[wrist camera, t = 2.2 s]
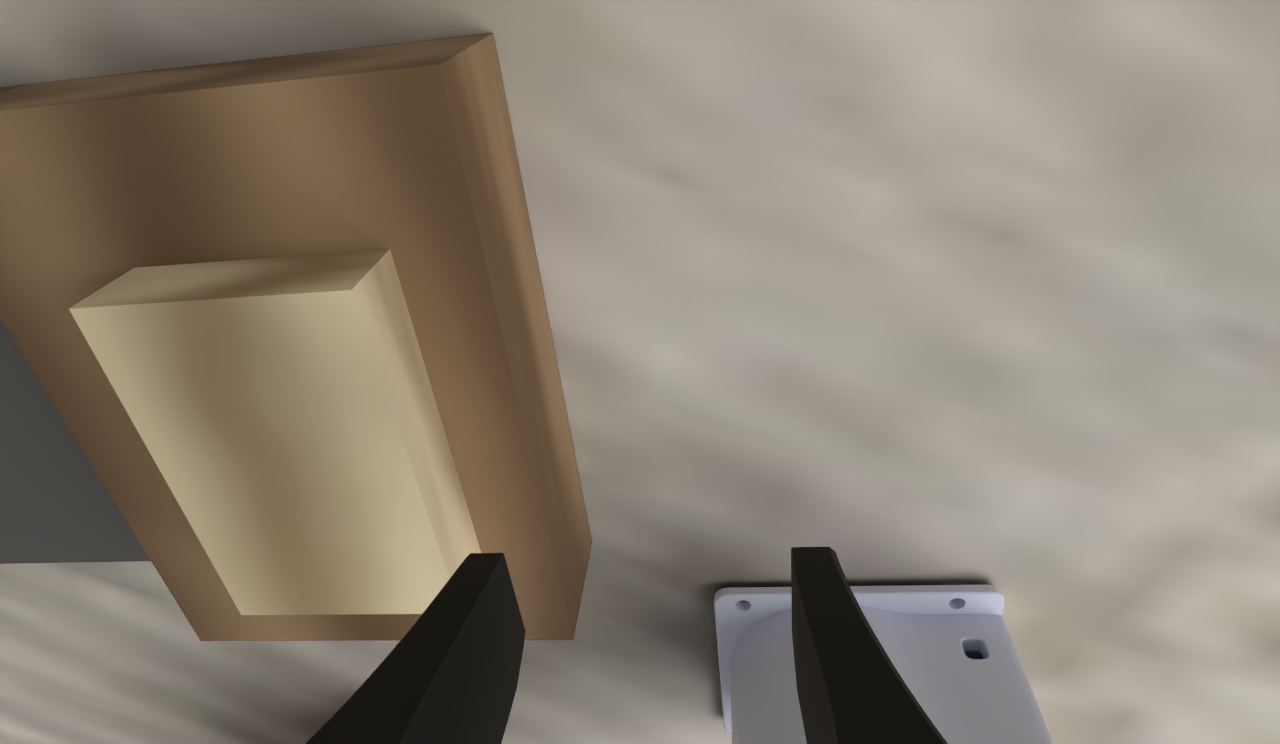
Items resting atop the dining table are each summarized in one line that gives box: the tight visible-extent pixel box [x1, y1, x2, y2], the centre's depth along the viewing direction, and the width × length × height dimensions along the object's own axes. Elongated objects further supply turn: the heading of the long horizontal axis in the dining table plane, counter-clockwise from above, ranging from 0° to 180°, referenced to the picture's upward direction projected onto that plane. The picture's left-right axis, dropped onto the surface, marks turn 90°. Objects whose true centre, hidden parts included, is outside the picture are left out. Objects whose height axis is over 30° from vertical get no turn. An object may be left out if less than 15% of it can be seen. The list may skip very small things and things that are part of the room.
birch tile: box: [69, 249, 481, 615], centre depth 18 cm, size 6×9×2 cm, turn 6°
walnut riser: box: [0, 33, 592, 641], centre depth 20 cm, size 12×16×4 cm
